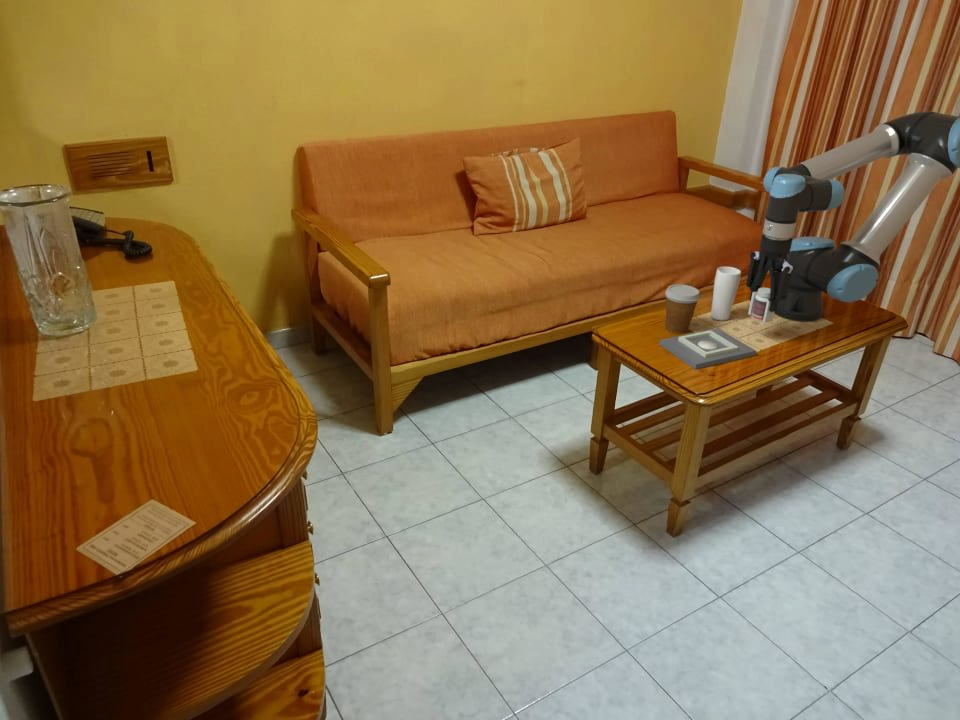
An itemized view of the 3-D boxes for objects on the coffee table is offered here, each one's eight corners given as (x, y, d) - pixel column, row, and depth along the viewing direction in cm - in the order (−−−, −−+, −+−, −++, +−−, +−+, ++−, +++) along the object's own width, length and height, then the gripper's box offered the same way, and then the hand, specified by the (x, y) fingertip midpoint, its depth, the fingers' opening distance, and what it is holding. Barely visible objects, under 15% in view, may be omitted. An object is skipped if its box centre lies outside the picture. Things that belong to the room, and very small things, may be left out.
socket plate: (716, 332, 194) (718, 325, 193) (755, 355, 182) (757, 347, 180) (659, 344, 186) (660, 336, 185) (695, 369, 174) (697, 360, 173)
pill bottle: (765, 323, 185) (771, 295, 181) (748, 318, 188) (754, 290, 184) (772, 317, 188) (778, 289, 184) (755, 313, 191) (760, 285, 187)
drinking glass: (734, 322, 200) (744, 274, 193) (711, 322, 200) (720, 274, 193) (727, 313, 206) (737, 266, 199) (705, 312, 206) (714, 266, 199)
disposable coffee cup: (669, 319, 202) (675, 281, 196) (699, 328, 196) (706, 289, 191) (653, 329, 195) (659, 290, 189) (684, 339, 190) (691, 299, 184)
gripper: (741, 228, 182) (727, 307, 193) (793, 248, 168) (774, 332, 179) (763, 224, 185) (747, 303, 196) (815, 244, 171) (795, 327, 182)
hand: (760, 317), depth 188 cm, fingers closed on pill bottle, 5 cm apart
